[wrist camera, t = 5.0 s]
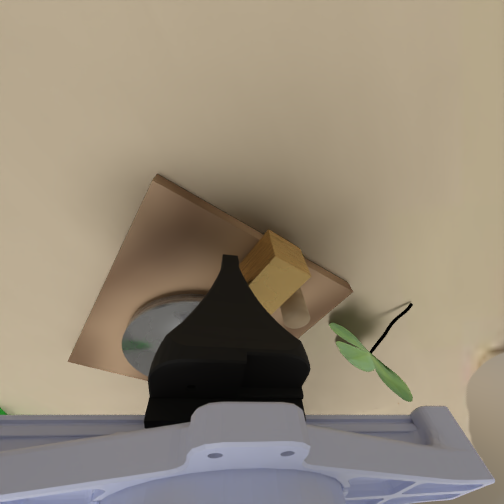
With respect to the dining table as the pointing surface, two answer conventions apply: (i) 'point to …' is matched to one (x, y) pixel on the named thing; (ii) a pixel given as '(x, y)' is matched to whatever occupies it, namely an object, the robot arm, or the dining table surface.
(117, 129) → the dining table surface
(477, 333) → the dining table surface
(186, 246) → the board
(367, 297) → the dining table surface
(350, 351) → the seedling
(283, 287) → the pan with wooden handle
